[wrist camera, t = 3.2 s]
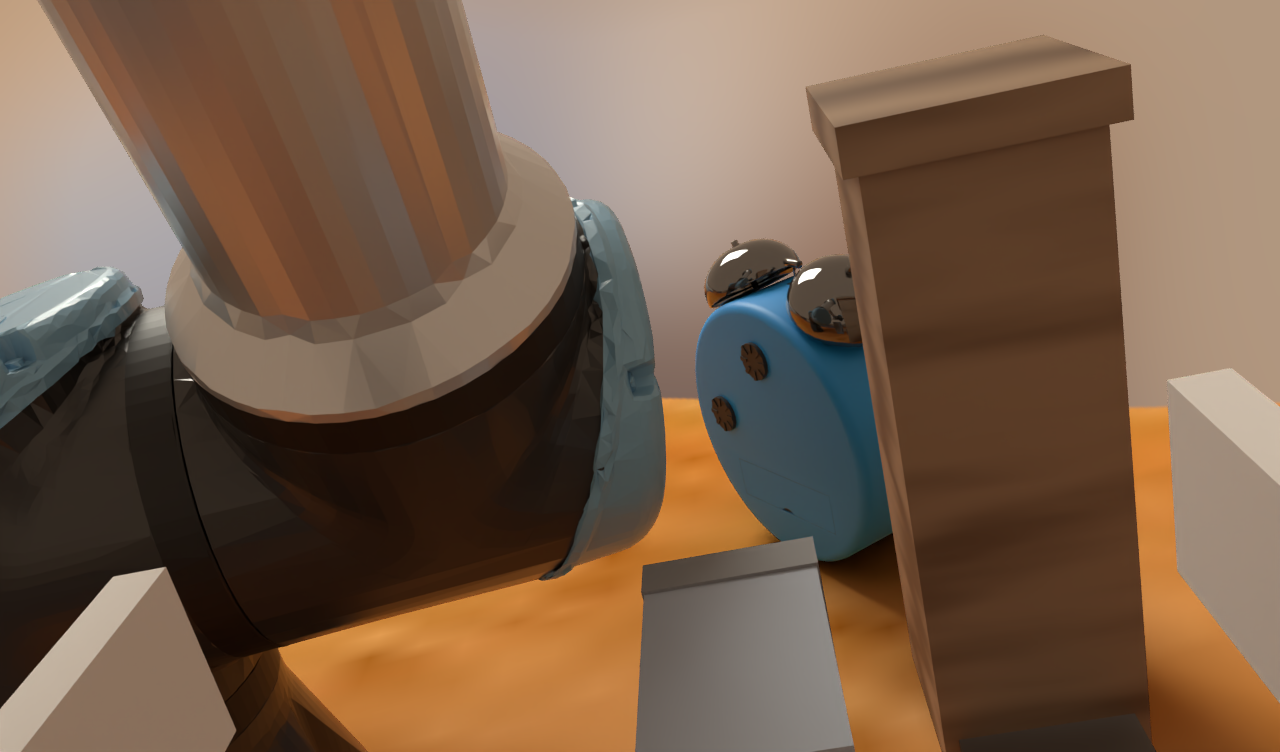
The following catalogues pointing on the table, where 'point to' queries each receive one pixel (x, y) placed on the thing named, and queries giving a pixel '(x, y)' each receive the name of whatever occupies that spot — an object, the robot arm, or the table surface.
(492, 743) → the table surface
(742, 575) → the rail end
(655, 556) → the table surface
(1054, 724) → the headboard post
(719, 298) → the alarm clock
